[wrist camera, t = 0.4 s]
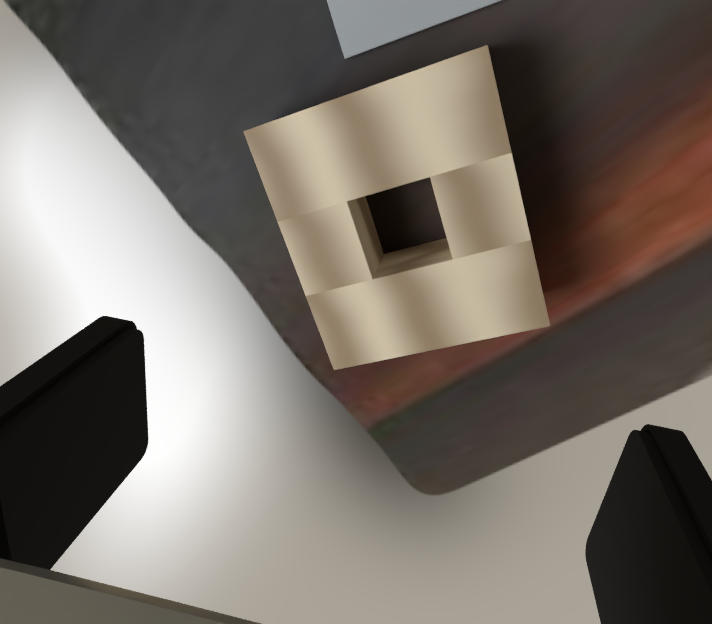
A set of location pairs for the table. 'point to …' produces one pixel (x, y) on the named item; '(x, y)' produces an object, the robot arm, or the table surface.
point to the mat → (391, 19)
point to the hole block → (391, 169)
